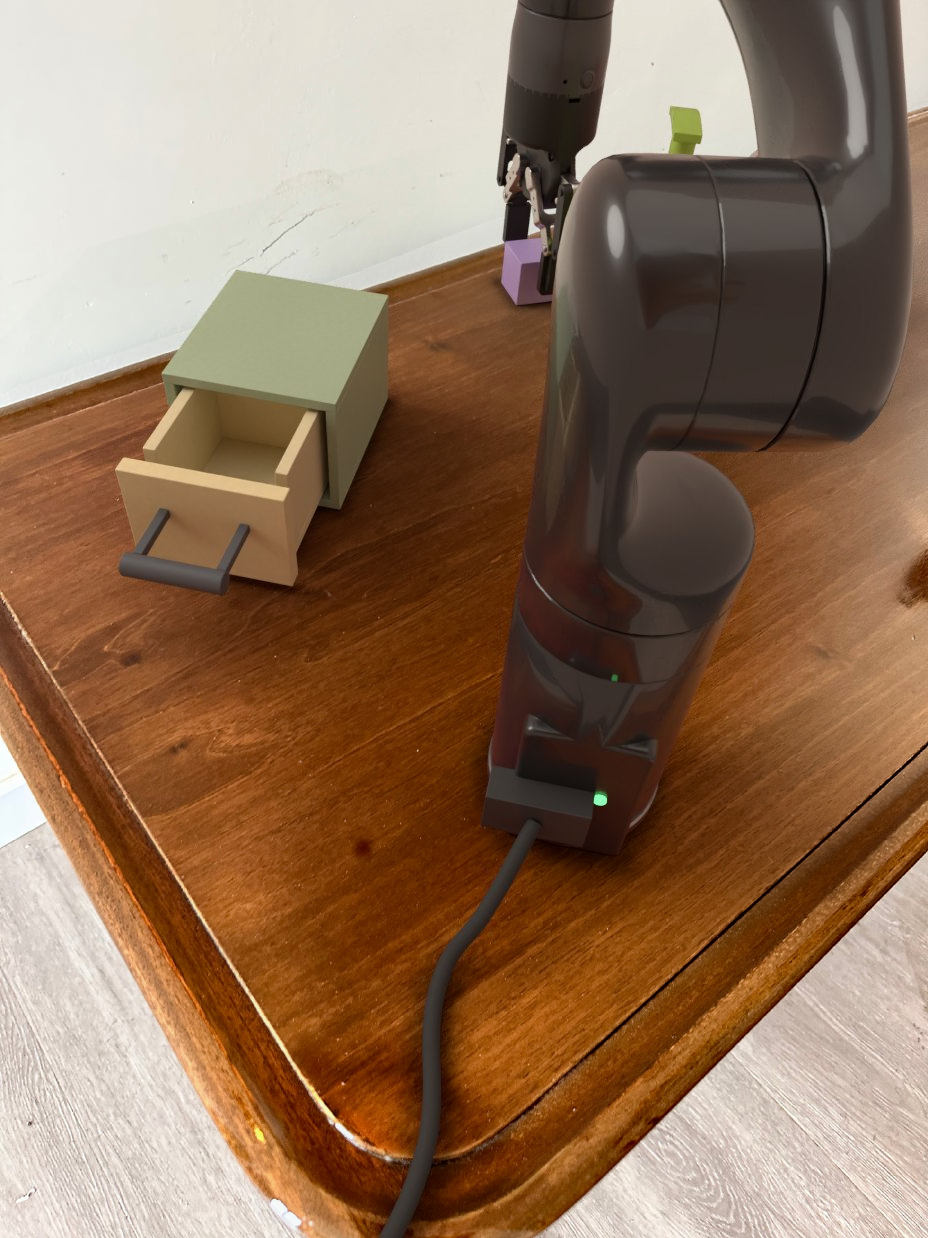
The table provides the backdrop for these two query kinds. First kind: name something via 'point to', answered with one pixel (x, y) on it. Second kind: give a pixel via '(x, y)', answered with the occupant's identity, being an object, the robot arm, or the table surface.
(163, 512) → the drawer
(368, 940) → the table surface
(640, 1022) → the table surface
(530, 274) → the lilac toy cube
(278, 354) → the cabinet
